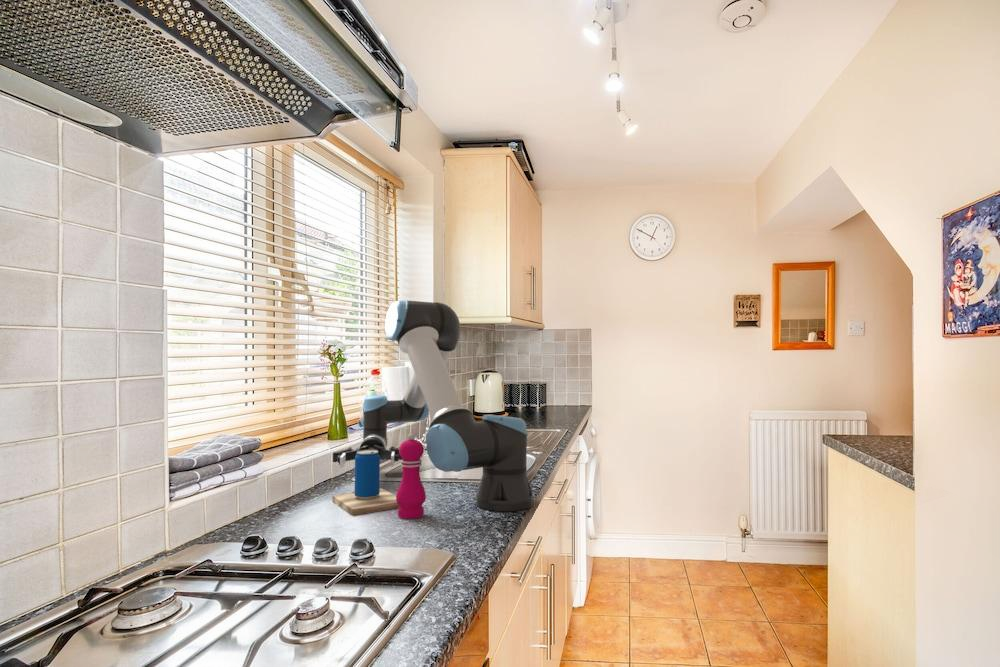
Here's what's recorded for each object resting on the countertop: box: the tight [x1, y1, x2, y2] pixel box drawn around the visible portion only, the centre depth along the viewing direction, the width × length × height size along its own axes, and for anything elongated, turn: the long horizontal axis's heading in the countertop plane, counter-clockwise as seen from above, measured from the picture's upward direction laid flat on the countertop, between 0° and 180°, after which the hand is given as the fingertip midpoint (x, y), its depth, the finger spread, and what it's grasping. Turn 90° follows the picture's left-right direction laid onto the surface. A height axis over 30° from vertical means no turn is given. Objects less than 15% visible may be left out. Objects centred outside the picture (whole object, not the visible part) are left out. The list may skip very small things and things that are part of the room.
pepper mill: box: [395, 433, 427, 520], centre depth 137 cm, size 7×7×20 cm
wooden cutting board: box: [332, 488, 400, 516], centre depth 147 cm, size 16×14×2 cm
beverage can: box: [354, 450, 381, 500], centre depth 148 cm, size 6×6×12 cm
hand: (367, 461), depth 152 cm, fingers open, 13 cm apart
